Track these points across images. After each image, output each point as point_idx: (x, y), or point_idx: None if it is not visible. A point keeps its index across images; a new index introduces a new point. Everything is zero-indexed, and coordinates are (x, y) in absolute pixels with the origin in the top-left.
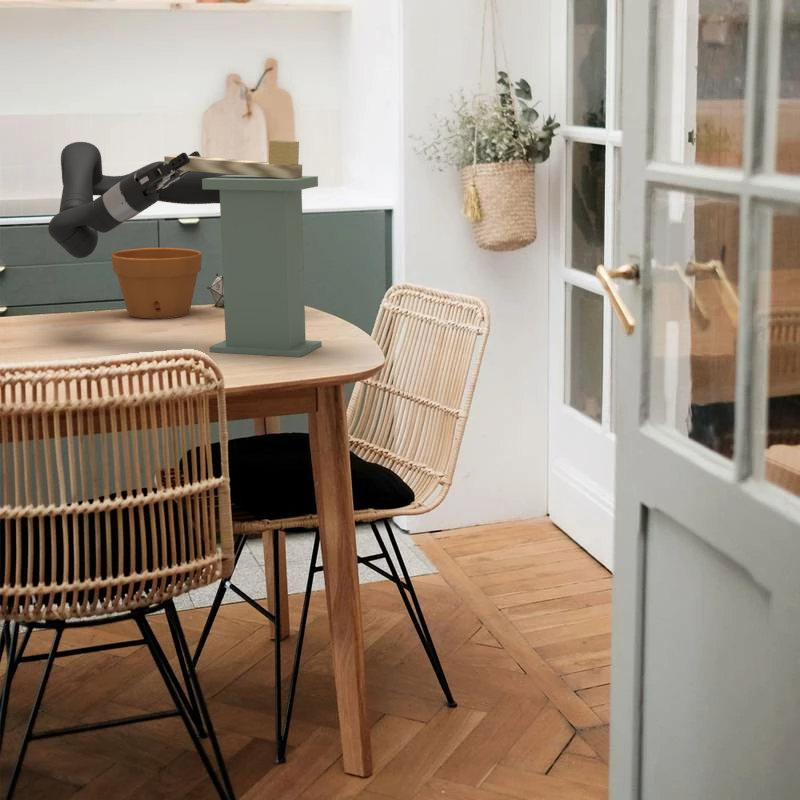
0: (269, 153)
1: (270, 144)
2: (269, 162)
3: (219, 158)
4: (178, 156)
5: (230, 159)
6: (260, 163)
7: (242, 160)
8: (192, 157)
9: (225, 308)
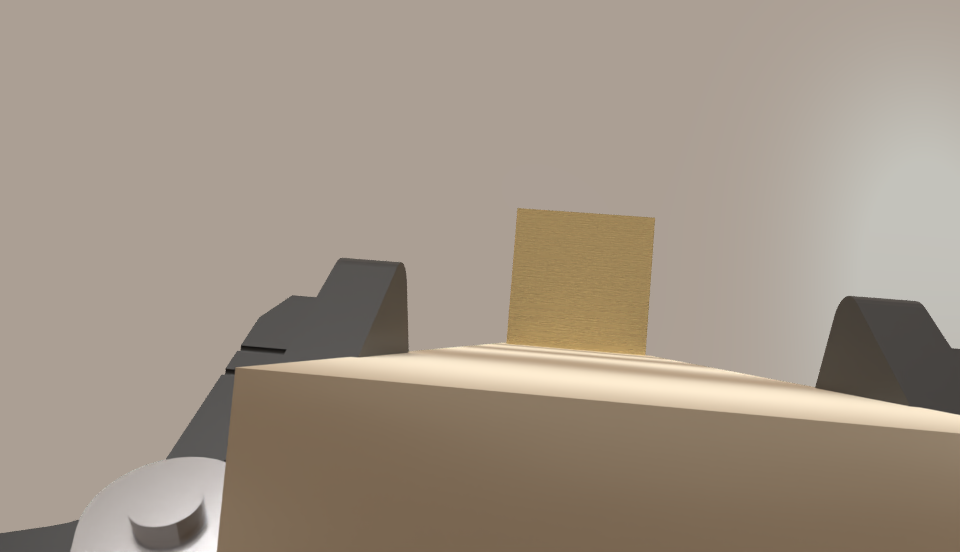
0: (648, 291)
1: (651, 238)
2: (645, 345)
3: (471, 349)
4: (957, 382)
5: (502, 349)
6: (645, 356)
7: (516, 348)
8: (634, 373)
9: None
